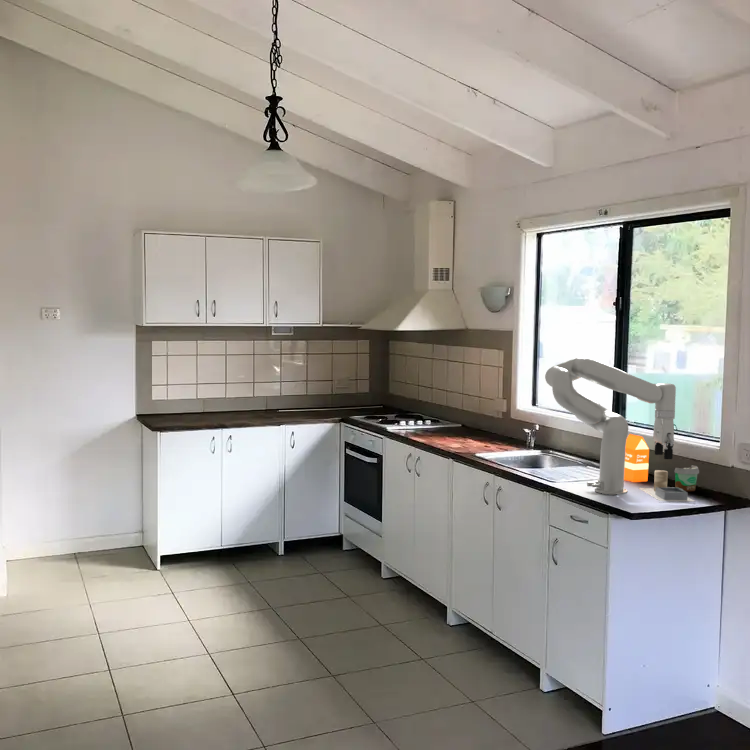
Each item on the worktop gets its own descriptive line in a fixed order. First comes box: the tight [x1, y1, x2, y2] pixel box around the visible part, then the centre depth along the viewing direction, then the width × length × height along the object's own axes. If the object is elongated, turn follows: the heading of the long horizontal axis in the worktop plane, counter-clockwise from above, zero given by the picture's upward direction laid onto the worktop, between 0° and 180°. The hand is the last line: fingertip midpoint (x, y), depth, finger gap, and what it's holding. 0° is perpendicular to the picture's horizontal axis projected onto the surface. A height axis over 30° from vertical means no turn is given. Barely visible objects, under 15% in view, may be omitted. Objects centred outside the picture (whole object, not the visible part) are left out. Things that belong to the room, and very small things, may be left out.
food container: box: [673, 464, 700, 492], centre depth 335 cm, size 12×6×10 cm, turn 126°
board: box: [638, 487, 695, 502], centre depth 326 cm, size 14×22×1 cm, turn 2°
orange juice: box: [624, 433, 650, 483], centre depth 353 cm, size 8×9×20 cm
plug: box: [653, 469, 669, 491], centre depth 331 cm, size 5×5×8 cm
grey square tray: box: [655, 486, 689, 500], centre depth 321 cm, size 9×9×3 cm
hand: (663, 456), depth 331 cm, fingers open, 9 cm apart
